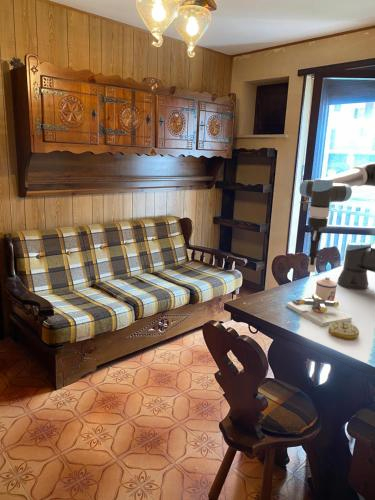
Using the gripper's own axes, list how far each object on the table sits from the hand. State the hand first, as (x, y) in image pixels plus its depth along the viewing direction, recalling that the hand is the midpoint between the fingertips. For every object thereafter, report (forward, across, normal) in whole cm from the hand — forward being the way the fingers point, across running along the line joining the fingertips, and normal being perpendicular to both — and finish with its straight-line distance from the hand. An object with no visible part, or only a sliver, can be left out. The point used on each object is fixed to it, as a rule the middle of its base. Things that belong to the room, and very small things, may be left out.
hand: (311, 271), depth 165 cm
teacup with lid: (+18, -17, +6) cm, 26 cm away
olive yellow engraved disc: (+18, +17, +16) cm, 30 cm away
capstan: (+16, +1, +5) cm, 17 cm away
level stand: (+18, +1, +5) cm, 18 cm away
